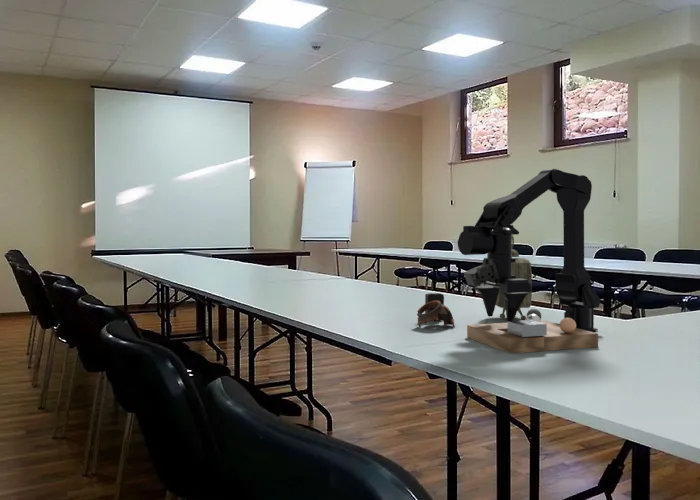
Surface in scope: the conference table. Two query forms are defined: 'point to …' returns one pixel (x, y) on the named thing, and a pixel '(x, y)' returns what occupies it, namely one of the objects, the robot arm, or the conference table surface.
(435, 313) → the brown arched legged figurine
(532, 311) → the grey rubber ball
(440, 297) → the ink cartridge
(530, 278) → the tabletop clock
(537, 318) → the steel ball
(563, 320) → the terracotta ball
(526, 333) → the brushed grey metal box
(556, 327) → the walnut deck
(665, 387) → the conference table surface
